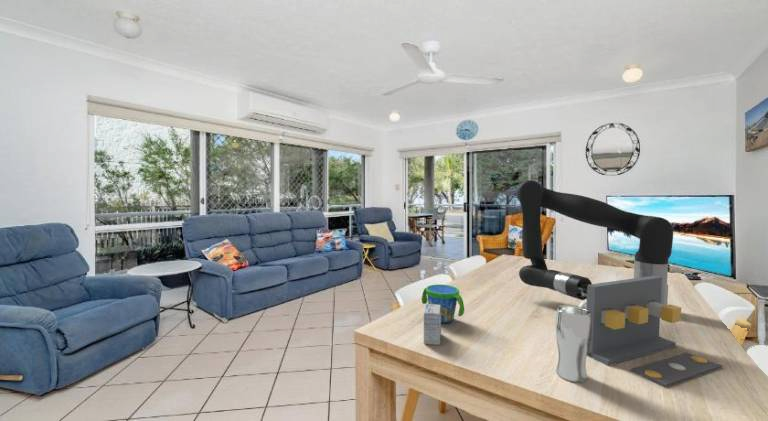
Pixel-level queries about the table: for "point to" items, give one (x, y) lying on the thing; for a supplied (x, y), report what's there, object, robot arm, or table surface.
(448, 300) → the snack cup
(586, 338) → the silver metal cup
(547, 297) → the table surface
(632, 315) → the middle button
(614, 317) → the button
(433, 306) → the medicine box
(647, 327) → the button panel
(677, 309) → the button
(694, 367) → the pattern card
